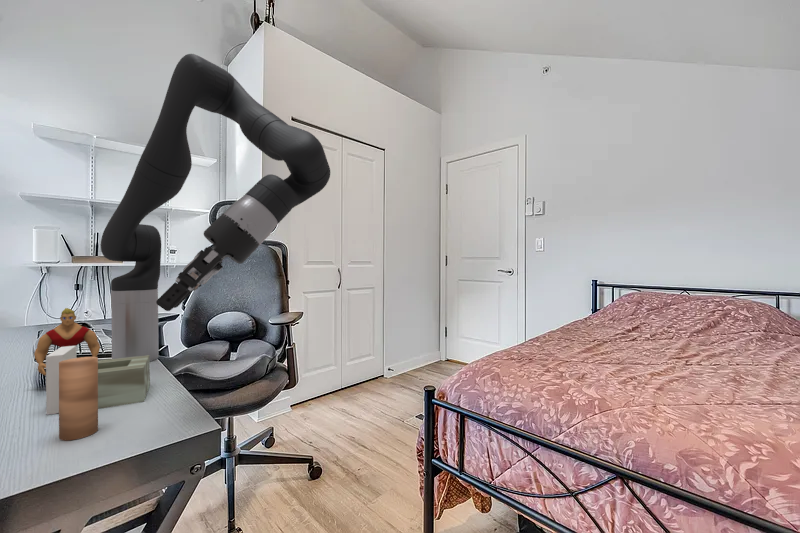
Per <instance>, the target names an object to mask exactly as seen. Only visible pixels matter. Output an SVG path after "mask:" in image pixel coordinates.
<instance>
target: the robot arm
mask: <svg viewBox="0 0 800 533" xmlns="http://www.w3.org/2000/svg"><path fill="white" fill-rule="evenodd" d="M169 81H170V82H169V85H168V87H167V91H166V94H165V97H164V100H163V104H162V107H161V109H160V113H159V114H158V117H157V118H158V119H157V121H156V122H155V126H154V128H153V130H152V131H151V135H150V137H149V138H148V139H149V140H148V142H147V144H145V145H146V146H145V147H144V149H143V151H142V153H141V155H140V158H139V160H138V162H137V165H136V167H135V170H134V173H133V175H132V177H131V180H130V182H129V185H128V186H127V188H126V191H125V193H124V195H123V196H122V199H121V200H120V202H119V204H118V205H117V208H116V209H115V210H114V213H113V214H112V216H111V218H109V220H108V222H107V223H106V226H105V228H104V230H103V232H102V235H101V239H100V252H101V254H102V256H103V257H104V258H105V259H107V260H109V261H113V262H124V263H125V262H127V263H129V262H134V264H135V265H134V267H133V268H132V270H130V271H129V272H127V273H124V274H122V275H118V276H116V277H114V278H112V279H111V282H110V290H111V291H110V300H111V302H110V303H111V306H110V307H111V308H110V309H111V359H118V358H127V357H136V356H146V355H150V362H152V361H154V360H155V361H156V360H158V359H159V358H160V357H159V355H160V354H159V352H160V351H159V350H160V349H159V341H160V340H159V307H160V308H161V309H163V310H164V311H166V312H170V311H172V310H173V309H175V308H178V307H179V306H180V305H181V304H182V303H183V302H184V301H185V300H186V299H187V298H188V297H189V296H190V295H191V294H192V293H193V292H195V291H197V290H198V289H199V288H200V287H201V286H202V285H205V284H206V283H207V282H208V281H209V280H210V279H211V278H213V276H216V275H218V273H219V272H220V271H221V270H222V269H223V267H224V266H223V265H222V264H223V261H224V260H225V259H226V258H229V259H230V260H232V261H233V262H235V263H237V264H238V265H239V264H241V265H242V264H243V263H245V261H247V259H249V257H250V256H251V255H252V254H253V253H254V252H255V251H256V250H257V249H258V248H259V246H261V245H262V243H263V242H264V241H266V239H268V237H269V236H270V235H271V234H272V232H273V231H274V230H275V228H276V227H277V226H278V224H280V223H281V221H282V220H283V219H285V217H286V216H287V215H288V214H289V213H290V212H291V211H292V210H293V209H294V208H296V206H298V205H301V204H302V203H304V202H306V201H307V200H309V199H310V198H312V197H313V196H316V194H318V193H320V192H321V191H322V190H323V189H324V188H325V187H326V186H327V184H328V183H329V180H330V178H331V168H330V164H329V162H328V159H327V156H326V153H325V150H324V146H323V145H322V143H321V142H320V140H319V138H317V137H316V136H315V135H314V134H313V133H311V132H309V130H305V129H302V128H299V127H295V126H293V125H290V124H288V123H287V122H286V121H284V120H283V119H281V118H280V117H279V116H277V115H276V114H274V113H273V112H272V111H271V110H269V109H267V107H265V106H264V105H262V104H260V103H259V102H258V101H257V100H255V99H254V98H253V97H252V96H251V95H250V94H249V93H248V92H247V90H246V89H245V88H244V87H243V85H241V84H240V82H239V81H238V80H237V79H236V78H235V77H234V76H233V75H232V74H231V73H230V72H228V71H227V70H226V69H224V68H222V67H220V66H219V65H217V64H215V63H213V62H212V61H209V60H207V59H205V58H203V57H201V56H200V55H197V54H194V53H188V54H185V55H183V56H182V57H181V59H180V60H178V62H177V64H176V66H175V68H174V71H173V73H172V75H171V78H170V80H169ZM195 107H197V108H199V109H203V110H205V111H208V112H210V113H212V114H219V115H221V116H223V117H225V118H227V119H229V120H231V121H233V122H235V123H236V124H238V125H239V129H240V130H241V133H242V134H243V135H244V137H245V138H246V139H247V140H248V141H249V142H250V143H251V144H252V145H253V146H255V147H256V148H257V149H259V151H261V152H262V153H263V154H265V155H266V156H268V158H270V159H272V160H274V161H280V162H281V161H282V162H283V161H284V163H285V165H286V167H287V168H288V170H289V172H290V174H289V176H288V177H286V178H284V179H283V178H281V177H280V176H278V175H276V174H266V175H264V176H263V177H262V178H260V179H259V180H258V182H256V183H255V184H254V185H253V186H252V187H250V189H249V190H248V191H247V192H246V193H245V194H244V195H243V196H241V197H240V198H239V199H237V200H236V201H234V202H233V203H232V204H230V206H229V207H227V209H226V210H225V211H224V212H223V213H221V215H220V216H219V217H218V218H217V219H215V220H214V221H213V222H212V223H211V224H210V225H209V226H208V227H207V228H206V229H205V230H204V231H203V236H204V238H205V239H206V240H207V241H208V242H209V243H210V244H212V246H210V245H208V246H206V247H205V248H204V249H203V250H202V249H201V250H200V251H198V252H197V254H195V256H194V257H193V259H192V260H191V261H190V262H188V263H187V264H186V265H185V267H184V268H183V271H180V272H179V273H178V276H177V277H176V279H175V282H174V283H173V284H172V285H171V286H170V287H169V288H168V289H166V291H165V292H163V294H162V295H160V296H159V280H160V276H161V261H162V259H161V258H162V238H161V237H162V236H161V233H160V232H159V230H158V228H157V227H155V226H153V225H150V224H143V223H141V222H142V221H143V219H145V217H147V216H148V215H149V214H151V213H152V212H153V211H154V210H156V209H158V208H160V207H161V206H163V205H164V204H167V203H168V202H169V201H171V200H172V199H173V198H174V197H176V196H177V195H178V194H179V193H180V192H181V190H182V189H183V186H184V184H185V183H186V180H187V178H188V176H189V175H190V172H191V169H192V165H193V164H192V155H191V149H190V146H189V145H190V144H189V141H188V133H187V132H188V131H187V130H188V128H187V127H188V124H189V120H190V116H192V112H193V111H194V109H195Z"/></svg>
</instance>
